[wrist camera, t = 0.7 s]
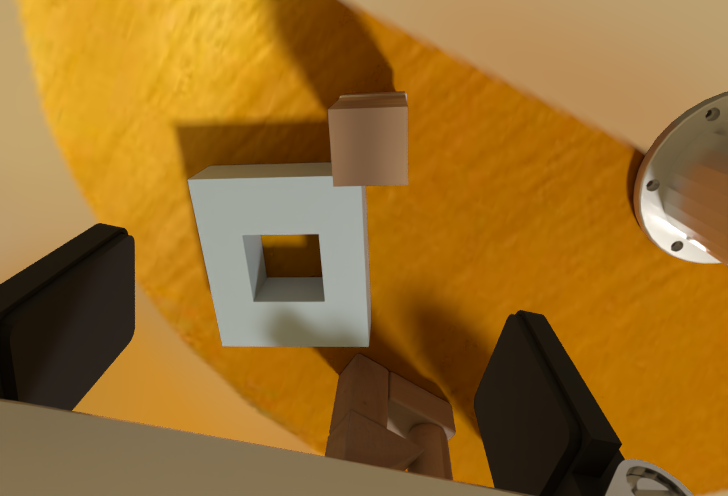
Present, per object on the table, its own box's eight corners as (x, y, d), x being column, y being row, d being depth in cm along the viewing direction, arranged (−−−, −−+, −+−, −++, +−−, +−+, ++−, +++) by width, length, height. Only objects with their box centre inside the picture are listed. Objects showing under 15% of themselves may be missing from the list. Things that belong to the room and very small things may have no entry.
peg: (405, 88, 31) (409, 104, 22) (405, 147, 33) (409, 186, 24) (346, 90, 31) (326, 107, 22) (349, 149, 33) (331, 188, 24)
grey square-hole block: (364, 161, 33) (360, 175, 30) (371, 319, 39) (368, 346, 35) (209, 165, 34) (187, 179, 31) (238, 318, 40) (222, 346, 36)
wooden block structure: (357, 350, 41) (331, 555, 24) (452, 403, 42) (488, 627, 26) (337, 376, 42) (299, 586, 26) (430, 426, 44) (450, 652, 27)
